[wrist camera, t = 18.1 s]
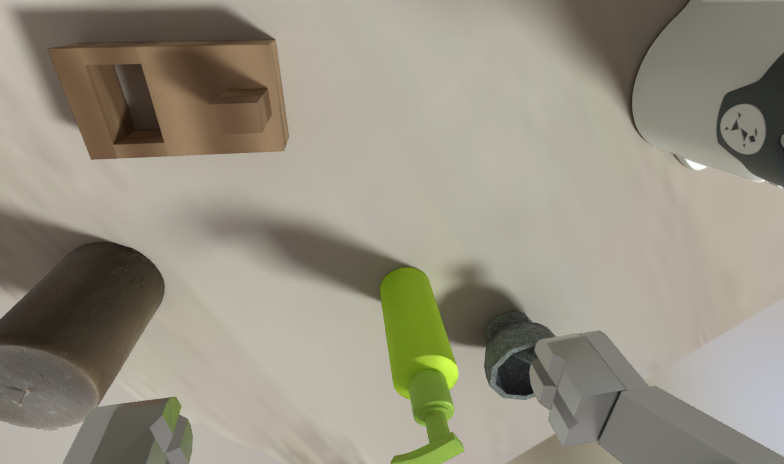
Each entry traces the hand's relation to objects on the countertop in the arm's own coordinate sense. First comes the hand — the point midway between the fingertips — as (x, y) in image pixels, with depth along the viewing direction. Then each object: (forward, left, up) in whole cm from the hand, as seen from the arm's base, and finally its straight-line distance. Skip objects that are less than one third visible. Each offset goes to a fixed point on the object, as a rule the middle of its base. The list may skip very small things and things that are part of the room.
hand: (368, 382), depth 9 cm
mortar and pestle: (-11, +34, -31) cm, 47 cm away
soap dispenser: (+1, +23, -31) cm, 38 cm away
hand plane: (+12, -4, -31) cm, 33 cm away
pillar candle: (+29, +11, -31) cm, 44 cm away
